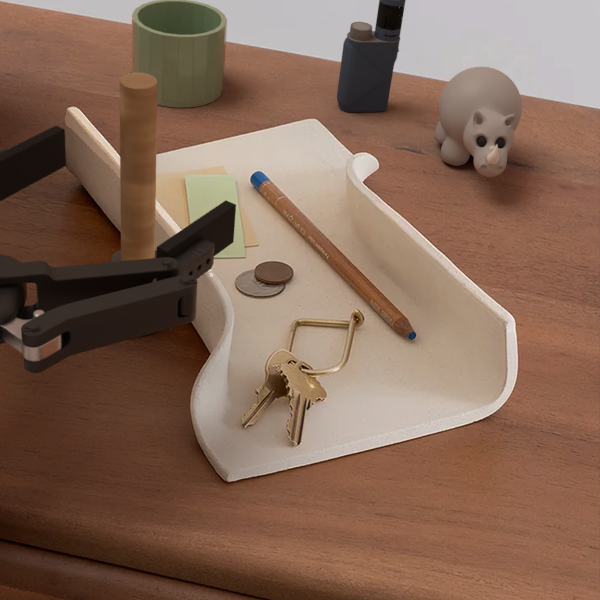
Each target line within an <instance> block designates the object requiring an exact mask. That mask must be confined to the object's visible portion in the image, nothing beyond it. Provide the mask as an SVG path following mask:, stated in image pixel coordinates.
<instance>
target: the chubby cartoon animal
mask: <svg viewBox="0 0 600 600" xmlns="http://www.w3.org/2000/svg"><path fill="white" fill-rule="evenodd" d="M522 112H523V103H522V96H521V93H520V90H519V89H518V87H517V85H516V84H515V82H514V81H513V79H512V78H510V77H509V75H507V74H506V73H504V72H503V71H500V70H499V69H496V68H494V67H490V66H473V67H470V68H466V69H464V70H462V71H460V72H458V73H457V74H455V75H454V76H453V77H451V79H450V80H448V81H447V83H446V85H445V86H444V88H443V90H442V92H441V94H440V96H439V101H438V112H437V113H438V118H439V120H438V122H437V124H436V127H435V130H434V139H435V141H436V142H438V143H439V144H440V145H441V148H440V153H439V154H440V155H439V156H440V159H441V160H442V161H443V162H445V163H446V164H448V165H451V166H453V167H454V166H455V167H459V166H463V165H465V164H466V163H467V162H468V161H469V159H470V156H472V157H473V166H474V169H475V170H476V172H477V173H478V174H479V175H481V176H483V177H486V178H495V177H497V176H500V175H501V174H502V173H503V172H504V171H505V169H506V168H507V163H508V153H509V151H510V150H511V148H512V146H513V143H514V139H515V131H516V130H517V128H518V126H519V124H520V121H521V117H522Z"/></svg>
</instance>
